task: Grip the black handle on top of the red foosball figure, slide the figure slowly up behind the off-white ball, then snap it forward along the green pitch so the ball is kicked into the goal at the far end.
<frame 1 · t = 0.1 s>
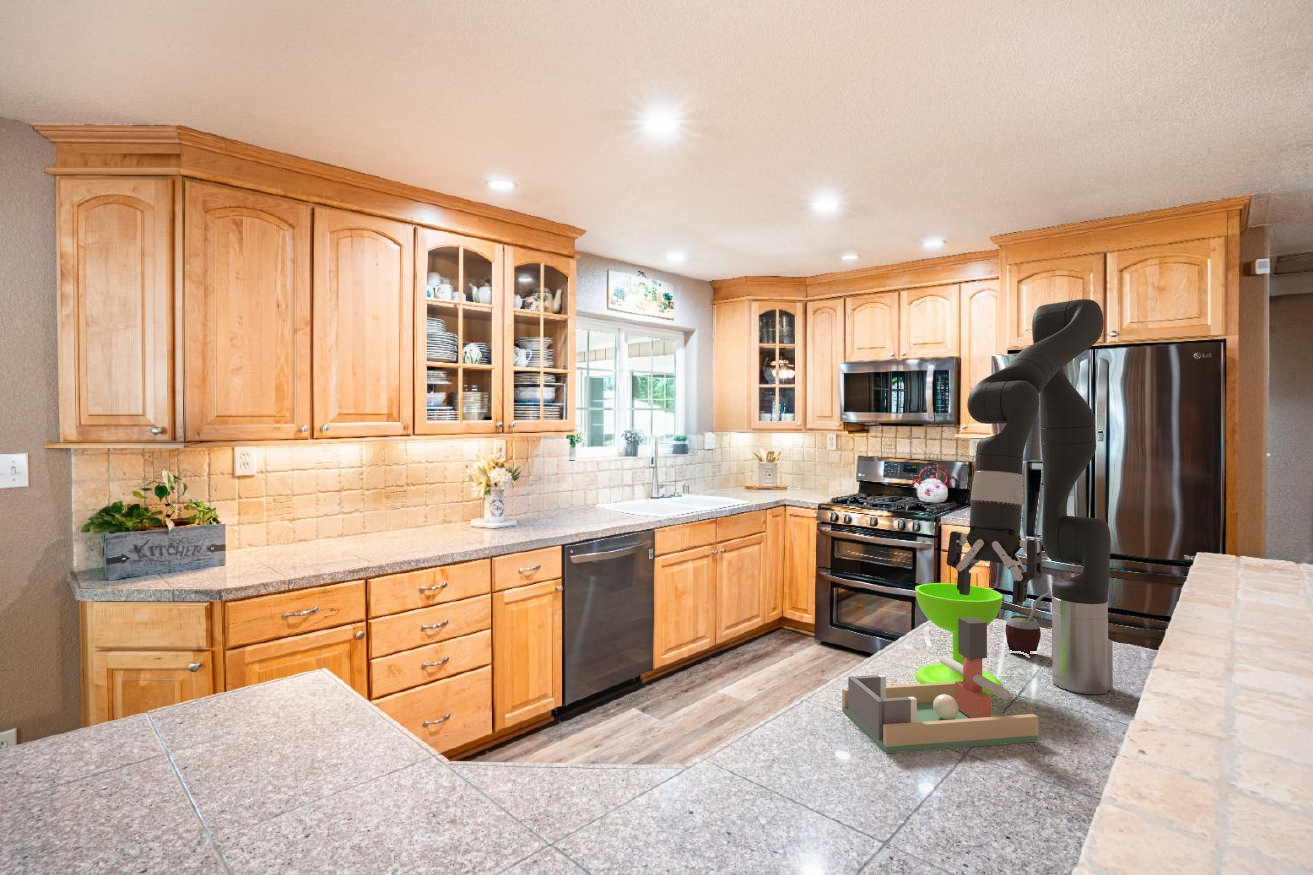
hand: (989, 599, 107), 22 cm above the countertop, tool pointing down, fingers open, 8 cm apart
pitch: (934, 725, 111), on the countertop
mate gourd: (1025, 655, 148), on the countertop
wineglass: (958, 682, 132), on the countertop
ball: (945, 706, 112), point 3 cm above the countertop, touching pitch
striker: (972, 667, 112), point 9 cm above the countertop, slide at 0.0 cm
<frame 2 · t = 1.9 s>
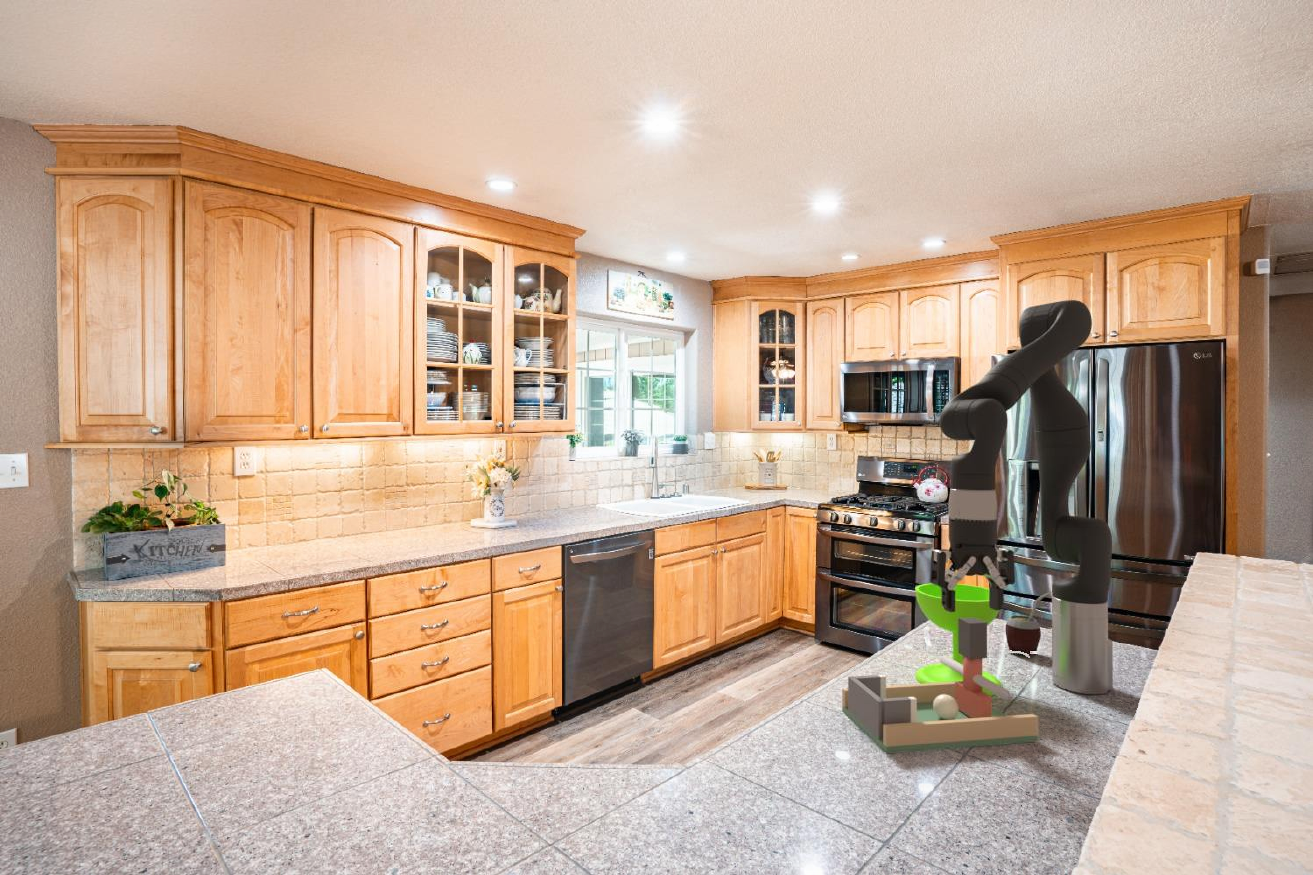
hand: (972, 610, 113), 19 cm above the countertop, tool pointing down, fingers open, 8 cm apart
nothing on the countertop moved.
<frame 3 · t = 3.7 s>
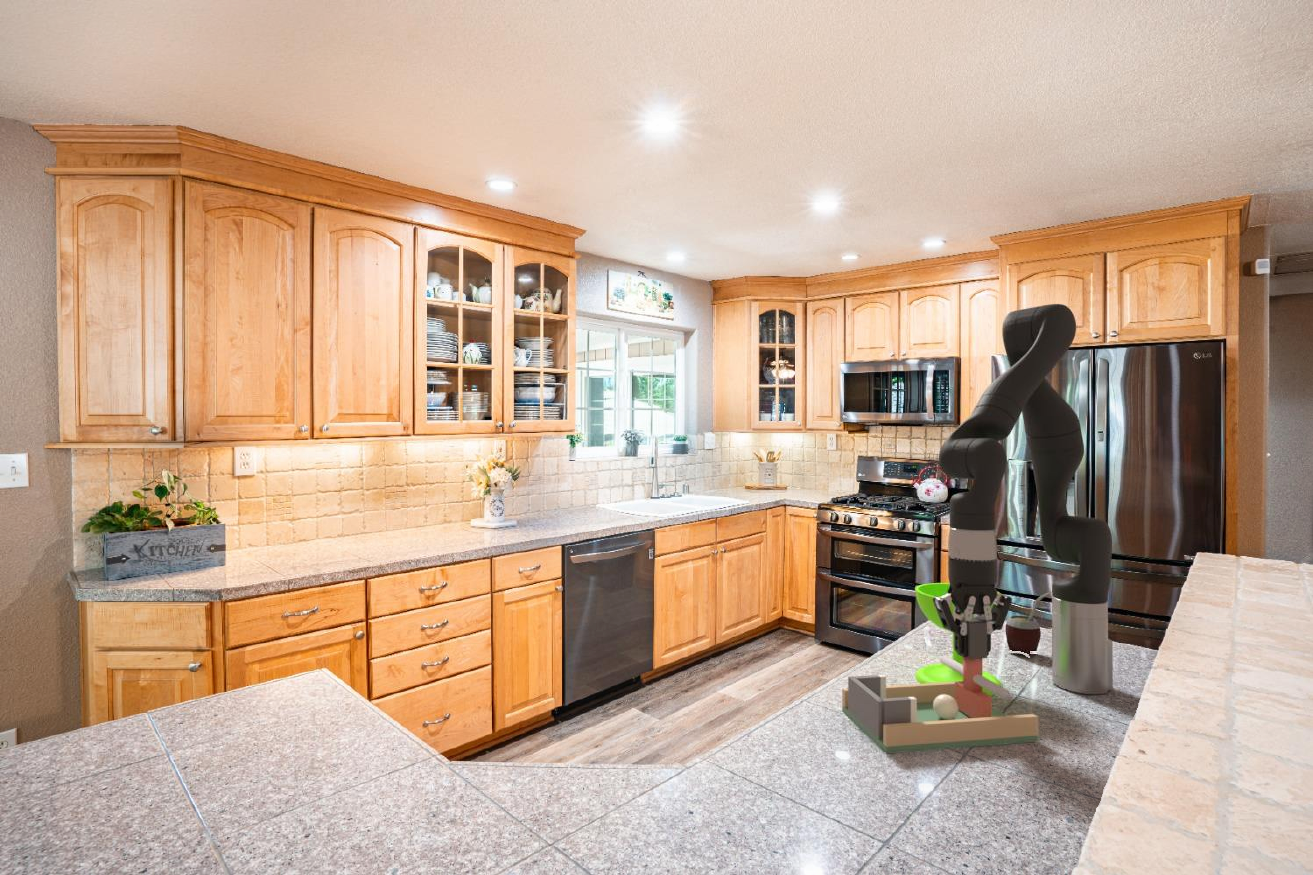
hand: (972, 654, 112), 12 cm above the countertop, tool pointing down, fingers closed on striker, 3 cm apart
striker: (972, 667, 112), point 9 cm above the countertop, slide at 0.0 cm, touching gripper
everything else where it was.
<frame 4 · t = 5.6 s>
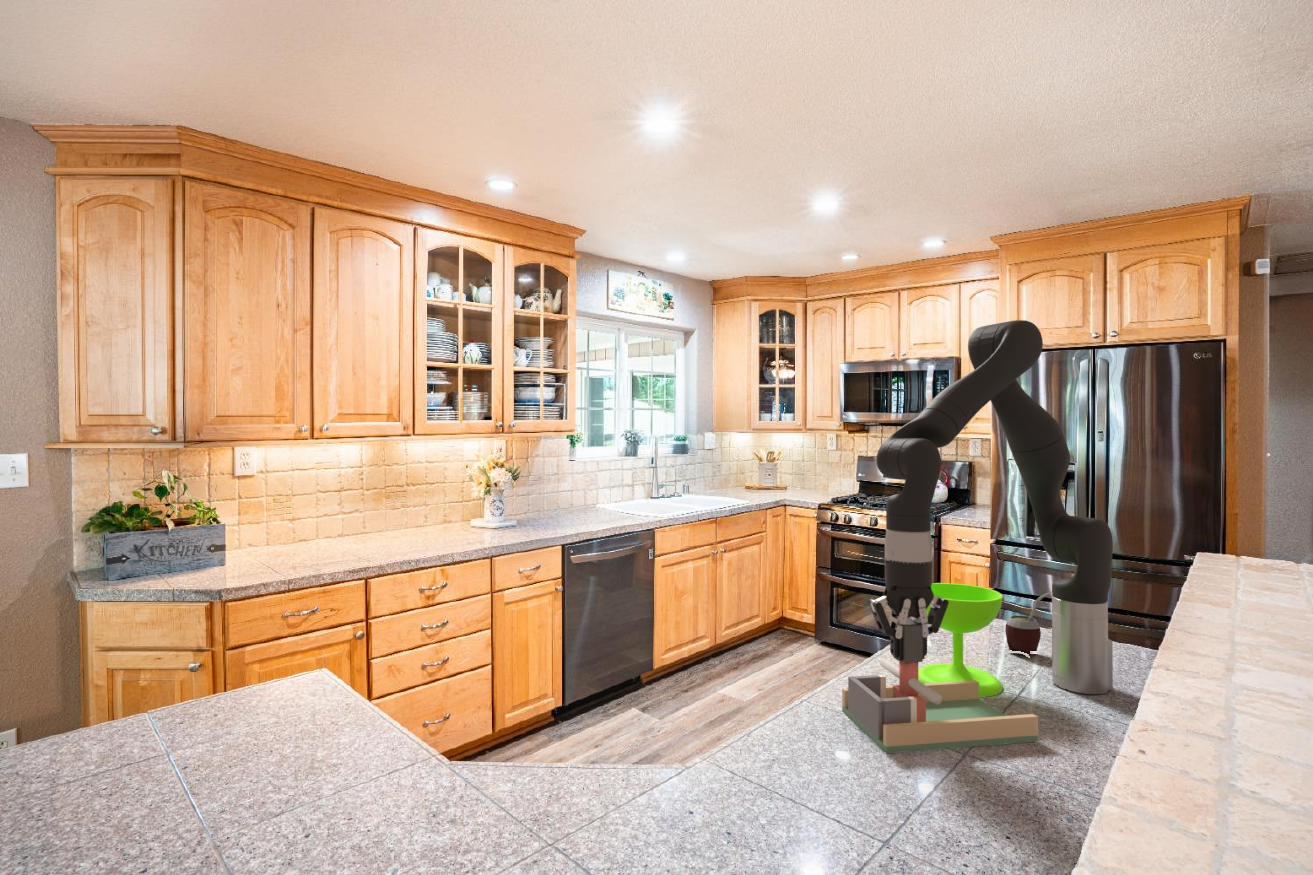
hand: (908, 657, 111), 12 cm above the countertop, tool pointing down, fingers closed on striker, 3 cm apart
ball: (882, 711, 110), point 3 cm above the countertop, tilted 38°, touching pitch
striker: (908, 671, 111), point 9 cm above the countertop, slide at 11.7 cm, touching gripper
everything else where it was.
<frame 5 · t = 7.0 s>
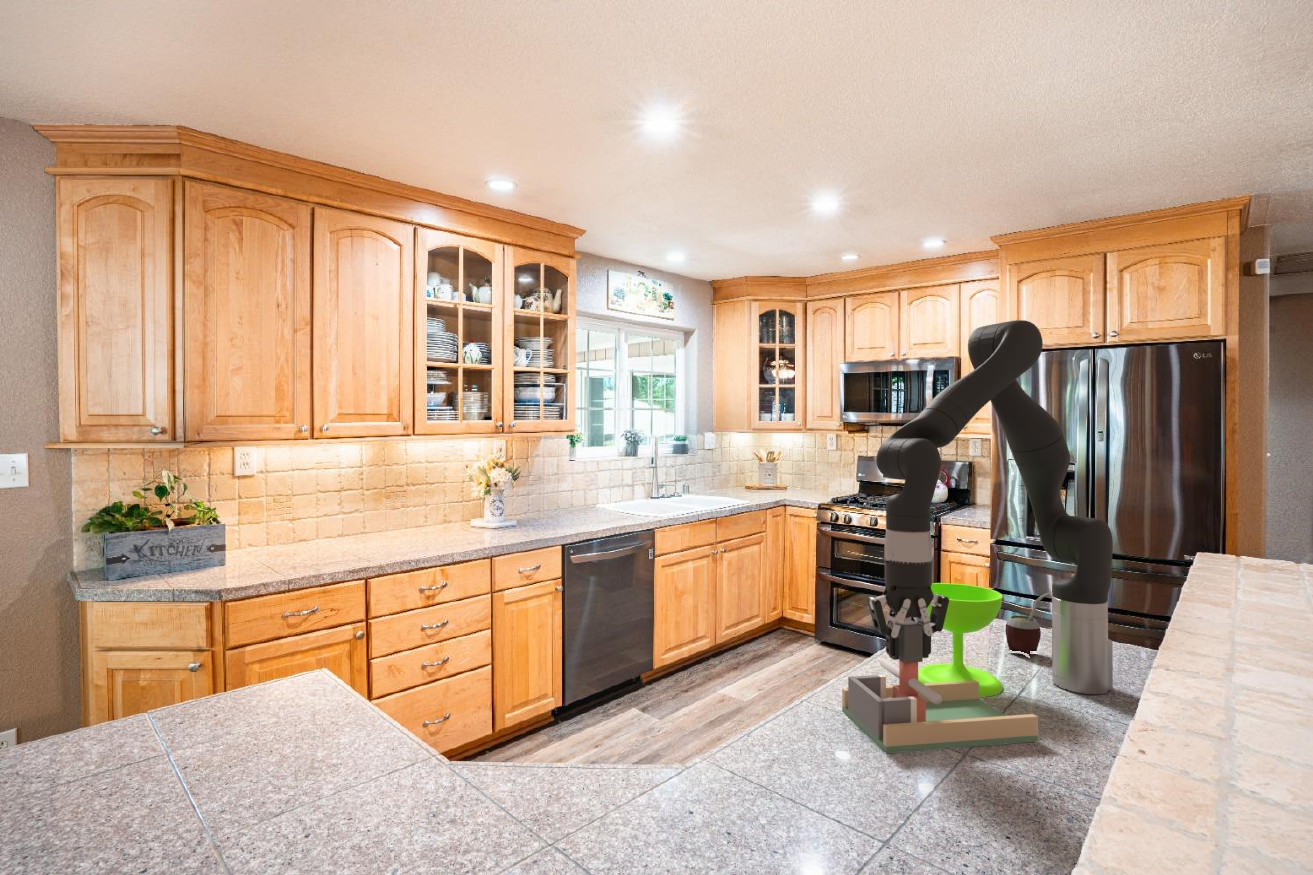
hand: (908, 656, 111), 12 cm above the countertop, tool pointing down, fingers open, 4 cm apart
ball: (892, 710, 110), point 3 cm above the countertop, tilted 90°, touching pitch
striker: (908, 671, 111), point 9 cm above the countertop, slide at 11.7 cm
everything else where it was.
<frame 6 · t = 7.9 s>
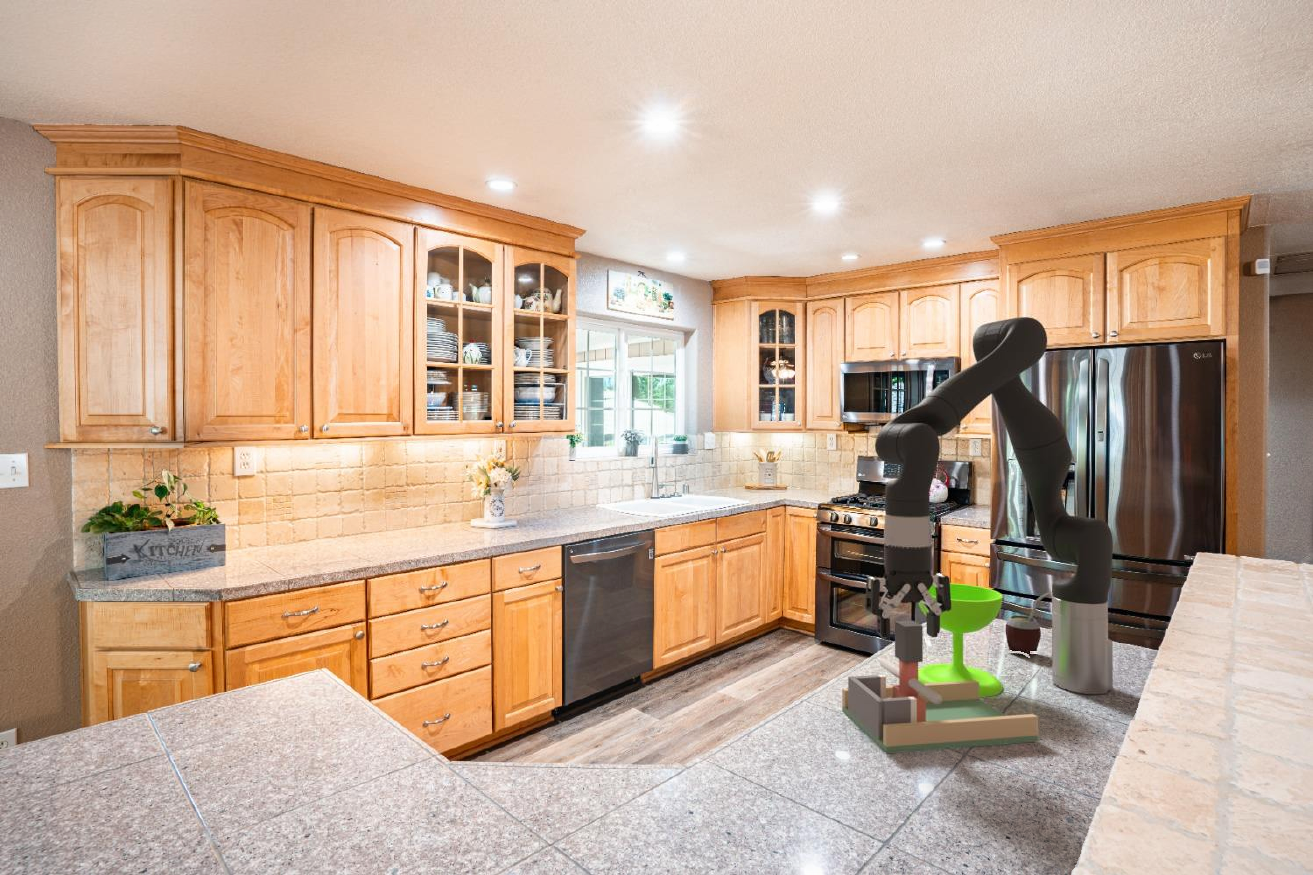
hand: (908, 637, 111), 15 cm above the countertop, tool pointing down, fingers open, 8 cm apart
nothing on the countertop moved.
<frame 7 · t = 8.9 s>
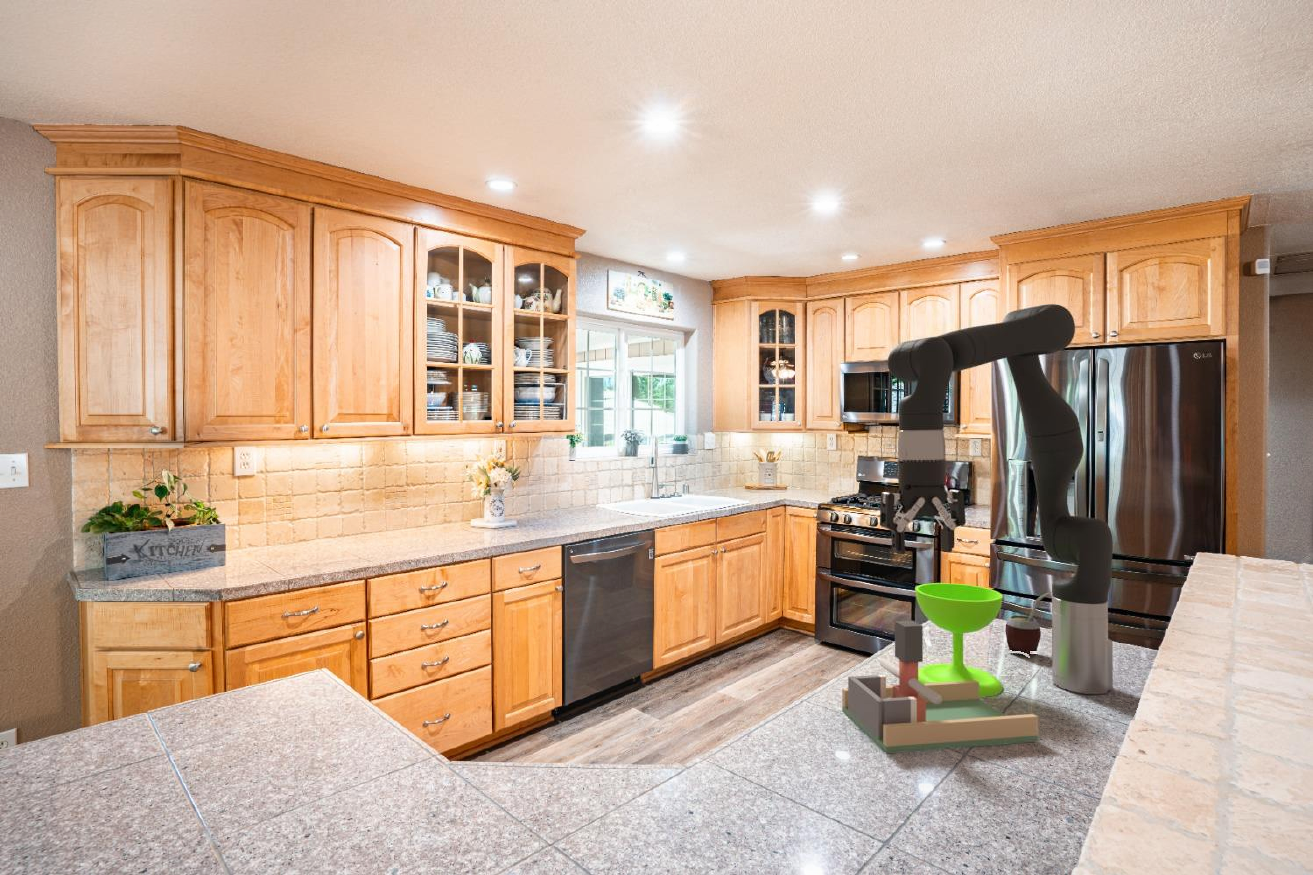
hand: (923, 552, 111), 29 cm above the countertop, tool pointing down, fingers open, 8 cm apart
nothing on the countertop moved.
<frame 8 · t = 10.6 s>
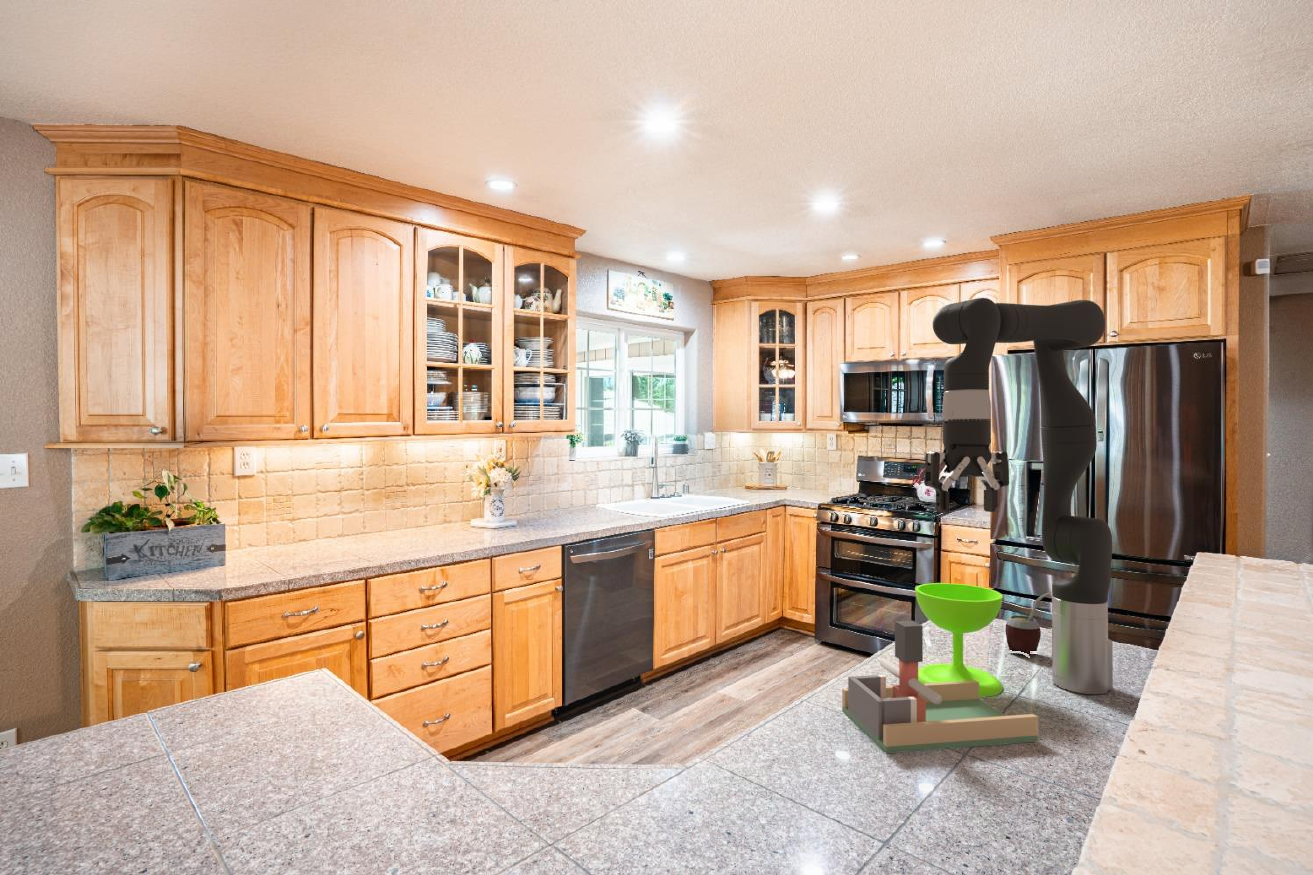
hand: (966, 512, 112), 36 cm above the countertop, tool pointing down, fingers open, 8 cm apart
nothing on the countertop moved.
at the end: ball inside the target area (1.8 cm from its centre), point 3.0 cm above the countertop; striker slide at 11.7 cm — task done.
